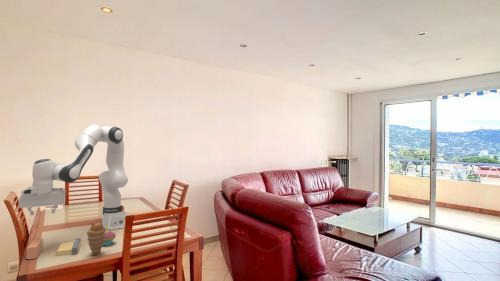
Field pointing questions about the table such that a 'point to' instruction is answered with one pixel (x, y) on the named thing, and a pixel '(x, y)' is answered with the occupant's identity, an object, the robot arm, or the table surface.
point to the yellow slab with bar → (69, 248)
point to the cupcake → (108, 237)
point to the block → (34, 249)
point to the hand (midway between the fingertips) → (43, 213)
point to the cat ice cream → (96, 237)
